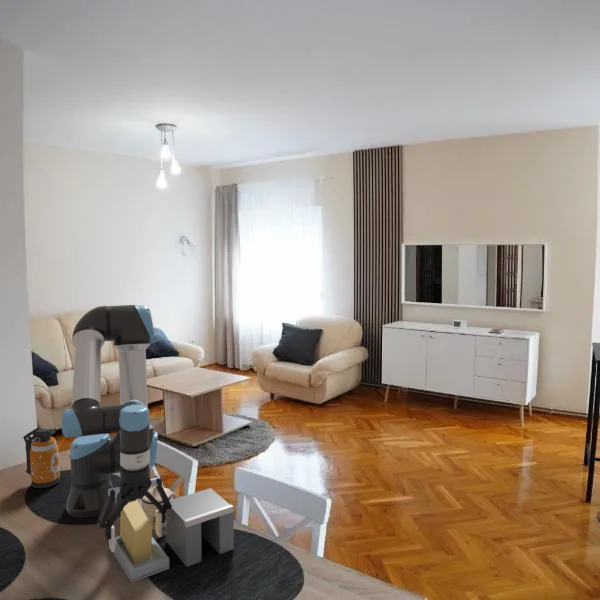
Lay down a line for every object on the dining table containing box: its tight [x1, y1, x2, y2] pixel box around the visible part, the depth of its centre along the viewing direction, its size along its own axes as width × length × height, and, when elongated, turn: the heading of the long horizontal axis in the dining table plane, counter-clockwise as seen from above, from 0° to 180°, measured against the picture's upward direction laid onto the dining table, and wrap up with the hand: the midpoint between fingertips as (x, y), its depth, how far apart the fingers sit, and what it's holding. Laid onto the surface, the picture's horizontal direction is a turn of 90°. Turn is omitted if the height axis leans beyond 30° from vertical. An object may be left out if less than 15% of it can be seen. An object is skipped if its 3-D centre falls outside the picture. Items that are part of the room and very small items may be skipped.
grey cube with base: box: [165, 487, 235, 567], centre depth 147 cm, size 14×14×13 cm
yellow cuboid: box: [119, 499, 153, 564], centre depth 143 cm, size 12×4×10 cm, turn 36°
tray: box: [112, 535, 170, 583], centre depth 142 cm, size 18×10×3 cm, turn 36°
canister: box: [22, 427, 61, 489], centre depth 183 cm, size 9×11×20 cm
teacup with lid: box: [140, 485, 178, 531], centre depth 160 cm, size 12×9×12 cm
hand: (136, 542), depth 141 cm, fingers open, 12 cm apart
